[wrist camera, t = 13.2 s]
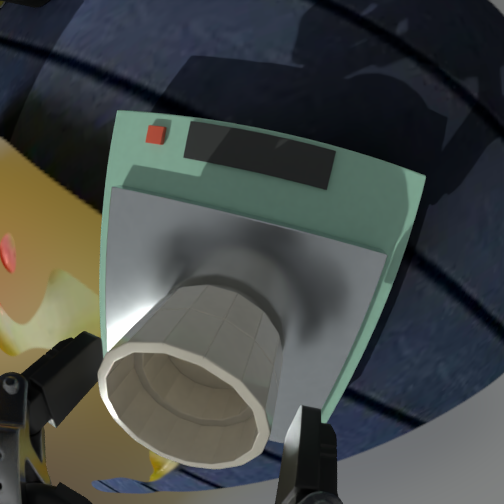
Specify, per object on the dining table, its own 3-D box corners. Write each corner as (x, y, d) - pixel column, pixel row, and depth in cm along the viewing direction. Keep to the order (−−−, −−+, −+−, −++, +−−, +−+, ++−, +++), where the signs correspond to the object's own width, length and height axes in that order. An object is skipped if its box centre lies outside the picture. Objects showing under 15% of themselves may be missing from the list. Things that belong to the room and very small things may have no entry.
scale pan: (383, 249, 12) (388, 255, 11) (301, 437, 16) (300, 446, 15) (120, 184, 13) (111, 186, 12) (115, 378, 17) (109, 385, 16)
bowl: (300, 302, 12) (294, 380, 8) (264, 404, 14) (247, 483, 10) (159, 263, 13) (91, 313, 8) (152, 369, 15) (106, 432, 10)
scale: (405, 173, 14) (429, 176, 11) (315, 411, 19) (313, 447, 16) (146, 116, 15) (113, 108, 12) (125, 353, 20) (101, 379, 17)
